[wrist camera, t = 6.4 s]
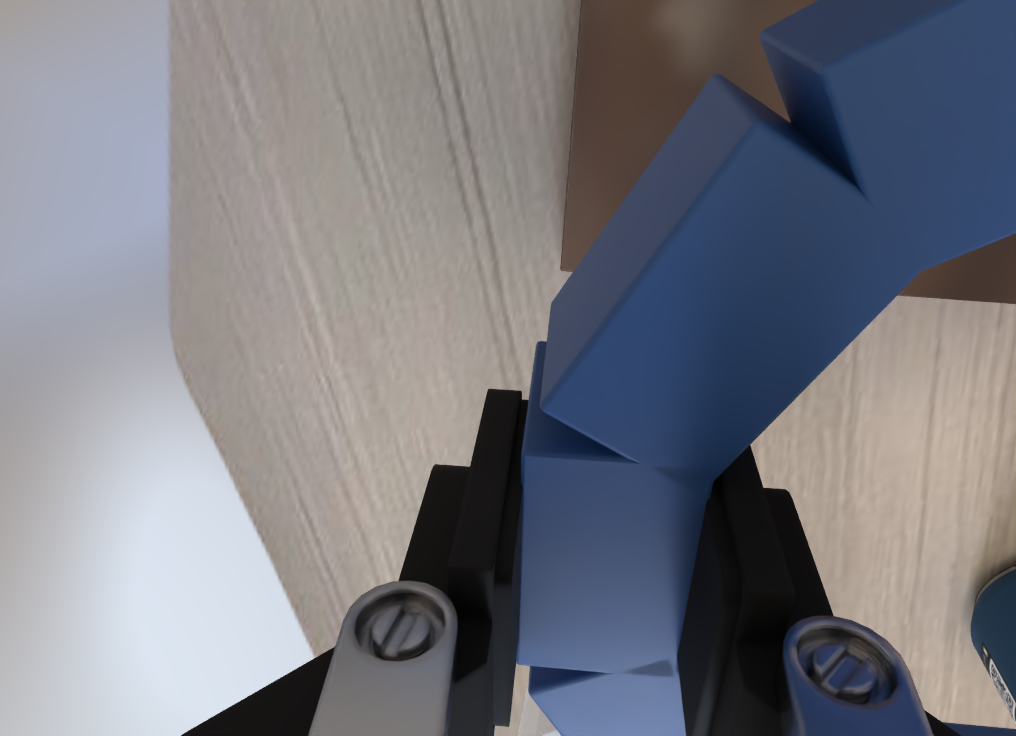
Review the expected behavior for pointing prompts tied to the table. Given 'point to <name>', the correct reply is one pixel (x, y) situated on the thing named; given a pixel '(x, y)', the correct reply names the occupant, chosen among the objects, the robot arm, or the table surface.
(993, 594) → the soda can
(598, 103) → the platform
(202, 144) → the table surface
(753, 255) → the ring
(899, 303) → the table surface
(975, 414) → the table surface
